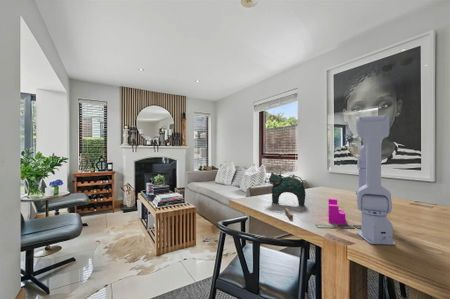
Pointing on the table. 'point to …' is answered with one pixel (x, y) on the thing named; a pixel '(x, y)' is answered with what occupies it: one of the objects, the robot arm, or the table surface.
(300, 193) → the ceramic cat
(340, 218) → the toy block
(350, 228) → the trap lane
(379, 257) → the table surface
